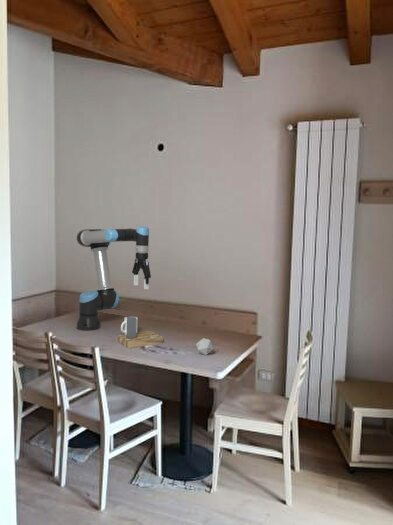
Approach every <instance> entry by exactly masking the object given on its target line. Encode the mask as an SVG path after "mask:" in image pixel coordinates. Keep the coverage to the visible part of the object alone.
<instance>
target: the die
mask: <svg viewBox="0 0 393 525" xmlns="http://www.w3.org/2000/svg"><path fill="white" fill-rule="evenodd" d="M196 348H197V352H198V353H199V354H200V355H204V356H207V355H208V354H209V353H211V352H212V351H213V350H214V347H213V345H212V341H211V340H210V339H208V338H204V337H203V338H202V339H200V340H199V341H198V342H196Z"/></svg>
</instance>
